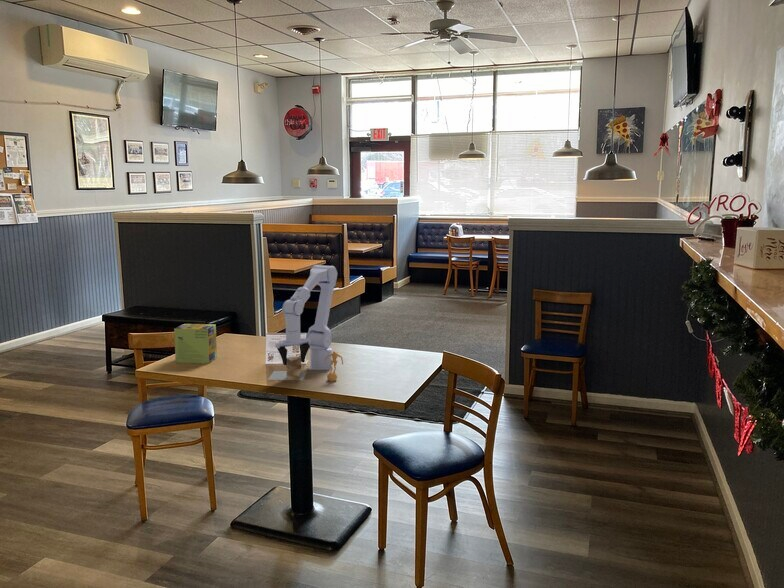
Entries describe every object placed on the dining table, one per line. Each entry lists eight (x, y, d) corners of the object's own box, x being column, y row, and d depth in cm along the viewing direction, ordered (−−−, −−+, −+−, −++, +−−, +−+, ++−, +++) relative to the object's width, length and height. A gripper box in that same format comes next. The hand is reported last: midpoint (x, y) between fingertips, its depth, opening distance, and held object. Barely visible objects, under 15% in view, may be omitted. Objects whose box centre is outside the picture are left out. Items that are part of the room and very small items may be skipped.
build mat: (307, 372, 255) (307, 371, 255) (302, 381, 243) (302, 380, 243) (273, 372, 255) (273, 371, 255) (267, 381, 243) (267, 379, 243)
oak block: (301, 375, 249) (301, 366, 248) (299, 379, 244) (299, 369, 243) (288, 375, 249) (288, 366, 248) (286, 379, 244) (286, 369, 243)
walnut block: (296, 365, 249) (296, 356, 248) (301, 368, 245) (301, 358, 244) (286, 367, 246) (286, 357, 246) (290, 370, 243) (290, 360, 242)
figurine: (320, 381, 243) (320, 352, 241) (327, 377, 248) (327, 349, 246) (339, 384, 240) (339, 354, 238) (346, 380, 245) (345, 351, 244)
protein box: (209, 363, 268) (208, 329, 265) (175, 363, 269) (173, 328, 266) (217, 357, 278) (216, 324, 276) (184, 356, 279) (183, 323, 276)
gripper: (305, 326, 250) (306, 358, 252) (271, 330, 242) (272, 363, 245) (313, 329, 244) (313, 362, 247) (278, 333, 237) (279, 367, 239)
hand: (293, 363), depth 245 cm, fingers open, 7 cm apart
